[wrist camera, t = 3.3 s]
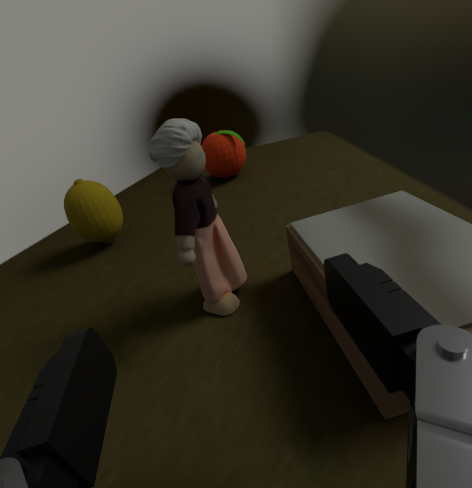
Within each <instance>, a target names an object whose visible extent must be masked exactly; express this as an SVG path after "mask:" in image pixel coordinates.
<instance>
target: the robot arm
mask: <svg viewBox="0 0 472 488" xmlns="http://www.w3.org/2000/svg"><path fill="white" fill-rule="evenodd" d="M324 272H325V282H326V293H327V298H328V301H329V304H330V306H331V308H332V310H333V312H334V313H335V315H336V316H337V317H338V319H339V320H340V322H341V323H342V325H343V326H344V328H345V329H346V331H347V332H348V334H349V335H350V337H351V338H352V340H353V341H354V342H355V344H356V345H357V347H358V348H359V350H360V351H361V353H362V354H363V356H364V357H365V359H366V360H367V362H368V363H369V364H370V366H371V367H372V369H373V370H374V372H375V373H376V375H377V376H378V378H379V379H380V381H381V382H382V384H383V385H384V387H385V388H386V389H387V391H388V392H389V394H391V393H394V392H398V391H401V390H403V392H404V393H405V395H406V396H407V397H408V399H409V418H408V447H407V474H406V488H472V333H470V332H468V331H466V330H464V329H461V328H458V327H455V326H450V325H442V324H441V323H439V322H438V321H437V320H436V319H435V318H434V317H433V316H432V315H431V314H430V313H429V312H427V311H426V310H425V309H424V308H423V307H422V306H421V305H420V304H419V303H418V302H417V301H416V300H414V299H413V298H412V297H411V296H410V295H409V294H408V293H407V292H406V291H405V290H402V288H401V287H400V286H399V285H398V284H397V283H396V282H395V281H394V282H393V279H392V278H391V277H389V276H388V275H387V274H386V273H385V272H384V271H383V270H382V269H380V268H377V267H375V266H373V265H371V264H369V263H364V264H360V265H359V264H358V263H357V262H356V261H355V260H354V259H353V258H352V257H351V256H350V255H349V254H348V253H344V254H341V255H337V256H334V257H331V258H327V259H325V260H324ZM116 373H117V370H116V363H115V360H114V358H113V356H112V354H111V353H110V351H109V350H108V348H107V347H106V345H105V344H104V342H103V341H102V339H101V338H100V336H99V335H98V333H97V332H96V330H95V329H93V328H88V329H85V330H81V331H78V332H75V333H71V334H68V335H66V337H65V338H64V340H63V342H62V345H61V347H60V349H59V352H58V354H56V355H53V356H52V358H51V359H50V360H49V361H48V362H47V364H46V365H45V366H44V367H43V369H42V370H41V371H40V373H39V375H38V378H37V380H36V382H35V384H34V386H33V387H34V389H33V390H32V391H31V393H30V395H29V397H28V399H27V403H26V404H25V406H24V408H23V410H22V412H21V414H20V416H19V419H18V421H17V423H16V425H15V427H14V429H13V431H12V434H11V436H10V438H9V440H8V442H7V444H6V447H5V449H4V451H3V453H2V455H1V457H0V488H91V487H94V484H95V479H96V474H97V469H98V464H99V459H100V455H101V450H102V445H103V440H104V435H105V430H106V425H107V420H108V415H109V410H110V405H111V400H112V395H113V390H114V385H115V380H116Z"/></svg>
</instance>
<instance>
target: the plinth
mask: <svg viewBox="0 0 472 488" xmlns="http://www.w3.org/2000/svg"><path fill="white" fill-rule="evenodd" d="M285 226H286V232H287V239H288V245H289V251H290V257H291V264H292V270H293V271H294V273H295V275H296V276H297V278H298V280H299V281H300V283H301V284H302V286H303V288H304V289H305V291H306V292H307V294H308V296H309V297H310V299H311V301H312V302H313V304H314V305H315V307H316V309H317V310H318V312H319V314H320V315H321V317H322V318H323V320H324V322H325V323H326V325H327V326H328V328H329V330H330V331H331V333H332V335H333V336H334V338H335V339H336V341H337V343H338V344H339V346H340V348H341V349H342V351H343V352H344V354H345V356H346V357H347V359H348V360H349V362H350V364H351V365H352V367H353V369H354V370H355V372H356V373H357V375H358V377H359V378H360V380H361V382H362V383H363V385H364V386H365V388H366V390H367V391H368V393H369V395H370V396H371V398H372V399H373V401H374V403H375V404H376V406H377V407H378V409H379V411H380V412H381V414H382V416H383V417H384V419H385V420H386V419H389V418H392V417H395V416H398V415H401V414H404V413H407V412H409V399H408V397H407V396H406V395H405V393H404V392H403V390H401V391H398V392H394V393H391V394H389V392H388V391H387V389H386V388H385V387H384V385H383V384H382V382H381V381H380V379H379V378H378V376H377V375H376V373H375V372H374V370H373V369H372V367H371V366H370V364H369V363H368V362H367V360H366V359H365V357H364V356H363V354H362V353H361V351H360V350H359V348H358V347H357V345H356V344H355V342H354V341H353V340H352V338H351V337H350V335H349V334H348V332H347V331H346V329H345V328H344V326H343V325H342V323H341V322H340V320H339V319H338V317H337V316H336V315H335V313H334V312H333V310H332V308H331V306H330V304H329V301H328V298H327V293H326V282H325V272H324V260H325V259H327V258H331V257H334V256H337V255H341V254H344V253H348V254H349V255H350V256H351V257H352V258H353V259H354V260H355V261H356V262H357V263H358V264H359V265H360V264H364V263H369V264H371V265H373V266H375V267H377V268H380V269H382V270H383V271H384V272H385V273H386V274H387V275H388V276H389V277H391V278H392V279H393V282H394V281H395V282H396V283H397V284H398V285H399V286H400V287H401V288H402V290H405V291H406V292H407V293H408V294H409V295H410V296H411V297H412V298H413V299H414V300H416V301H417V302H418V303H419V304H420V305H421V306H422V307H423V308H424V309H425V310H426V311H427V312H429V313H430V314H431V315H432V316H433V317H434V318H435V319H436V320H437V321H438V322H439V323H441V324H442V325H450V326H455V327H458V328H461V329H464V330H466V331H468V332H470V333H472V224H470V223H468V222H466V221H464V220H462V219H460V218H458V217H456V216H453V215H451V214H449V213H447V212H445V211H443V210H441V209H439V208H437V207H435V206H433V205H431V204H429V203H427V202H425V201H423V200H421V199H418V198H416V197H414V196H412V195H410V194H408V193H406V192H404V191H399V192H395V193H392V194H388V195H385V196H382V197H378V198H375V199H371V200H368V201H364V202H361V203H357V204H354V205H351V206H347V207H344V208H340V209H337V210H333V211H330V212H326V213H323V214H320V215H316V216H313V217H309V218H306V219H302V220H299V221H295V222H292V223H290V224H289V225H285Z"/></svg>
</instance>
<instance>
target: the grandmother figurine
mask: <svg viewBox="0 0 472 488" xmlns="http://www.w3.org/2000/svg"><path fill="white" fill-rule="evenodd" d="M201 138H202V134H201V131H200V128H199V127H198V125H197V124H196V123H193V122H191V121H189V120H187V119H170V120H168V121H166V122H165V123H164V124H163V125H162V126H161V127H160V128H159V129H158V131H157V132H156V134H155V135H154V137H153V138H152V140H151V142H150V155H149V156H150V158H151V160H153V161H155V162H157V164H158V165H159V166H161V167H163V168H165V170H166V172H167V173H168V174H169V175H170V176H171V177H172V178H174V179H176V180H177V184H176V186H175V189H174V191H173V195H172V199H173V205H174V208H175V235H176V239H177V248H178V250H179V255H178V260H179V263H180V264H181V265H183V266H190V265H192V264H193V263H194V266H195V270H196V274H197V277H198V280H199V284H200V288H201V291H202V294H203V297H204V298H205V300H204V303H203V309H204V310H205V311H207V312H210V313H213V314H217V315H221V316H226V315H230V314H232V313H234V312H235V311H236V310H237V308H238V307H239V304H240V302H239V299H238V298H237V296H236V295H234V294H233V293H232V291H234V290H237V289H238V288H239V287H240V286H241V285H243V284H244V282H245V281H246V279H247V274H246V272H245V269H244V266H243V264H242V261H241V259H240V257H239V255H238V252H237V250H236V248H235V246H234V244H233V242H232V241H231V239H230V237H229V235H228V233H227V230H226V228H225V226H224V224H223V222H222V220H221V218H220V217H219V216H218V214H217V210H216V208H217V202H216V200H215V199H214V196H213V194H212V190H211V187H210V184H209V182H208V180H207V179H206V177H205V176H203V175H201V173H202V172H203V170H204V168H205V164H206V158H205V153H204V150H203V149H202V147H201V145H200V143H201Z"/></svg>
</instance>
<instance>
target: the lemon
mask: <svg viewBox="0 0 472 488" xmlns="http://www.w3.org/2000/svg"><path fill="white" fill-rule="evenodd" d="M64 209H65V213H66V216H67V218H68V221H69V223H70V224H71V226H72V227H73V229H74V230H75V231H76V232H77V233H78V234H79V235H80V236H81V237H83V238H84V239H86V240H89V241H92V242H104V243H108V244H109V243H111V242H112V241H113V239H114V236H116V235H117V234H118V232H119V231H120V229H121V227H122V222H123V215H122V210H121V207H120V205H119V203H118V201H117V199H116V198H115V197H114V195H113V194H112V193H111V192H110V191H109V189H108V188H106V187H105V186H104V185H102V184H100V183H98V182H94V181H85V180H82V179H78V180H75V182H74V185H73V186H72V187H71V188H70V189H69V190H68V191H67V193H66V195H65V199H64Z"/></svg>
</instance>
